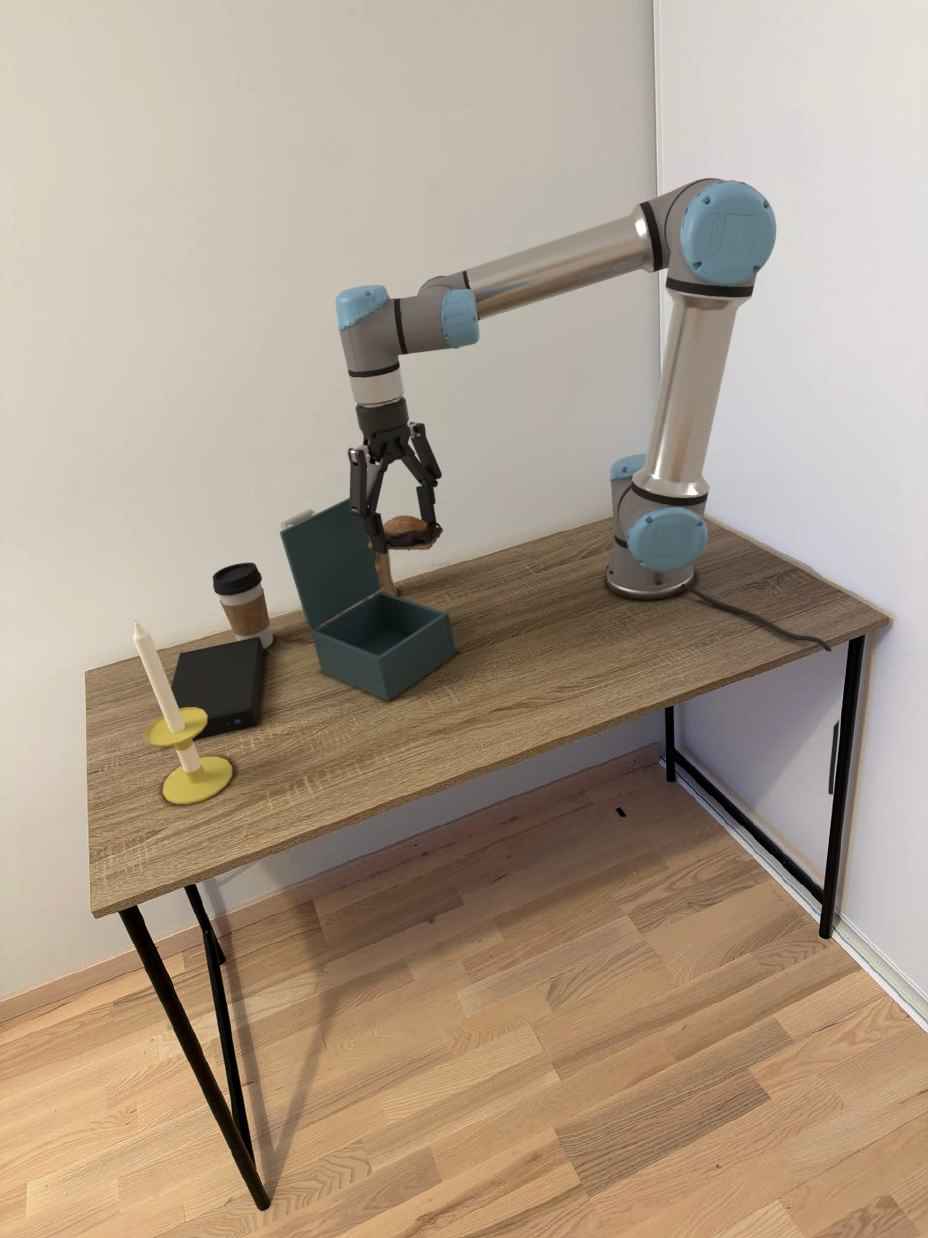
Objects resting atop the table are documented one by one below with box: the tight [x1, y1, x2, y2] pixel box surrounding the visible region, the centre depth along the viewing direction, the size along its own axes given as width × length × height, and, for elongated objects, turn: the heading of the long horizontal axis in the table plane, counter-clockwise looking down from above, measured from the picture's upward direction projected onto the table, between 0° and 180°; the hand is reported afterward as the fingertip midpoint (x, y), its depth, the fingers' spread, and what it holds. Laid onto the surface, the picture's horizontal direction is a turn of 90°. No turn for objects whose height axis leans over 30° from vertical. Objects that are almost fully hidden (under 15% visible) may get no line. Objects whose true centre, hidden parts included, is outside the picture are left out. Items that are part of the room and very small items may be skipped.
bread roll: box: [368, 515, 444, 552], centre depth 133 cm, size 11×8×4 cm
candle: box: [132, 617, 233, 805], centre depth 114 cm, size 10×10×27 cm
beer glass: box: [366, 519, 398, 599], centre depth 159 cm, size 7×7×15 cm
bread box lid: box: [279, 497, 381, 631], centre depth 140 cm, size 17×16×8 cm
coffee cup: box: [212, 562, 274, 650], centre depth 149 cm, size 8×8×15 cm
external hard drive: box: [170, 637, 265, 740], centre depth 139 cm, size 14×23×3 cm, turn 10°
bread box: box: [310, 591, 457, 702], centre depth 139 cm, size 17×16×8 cm
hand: (405, 538), depth 134 cm, fingers closed on bread roll, 10 cm apart
